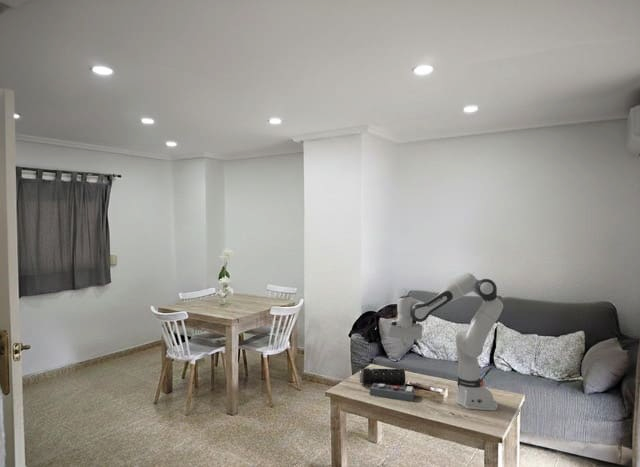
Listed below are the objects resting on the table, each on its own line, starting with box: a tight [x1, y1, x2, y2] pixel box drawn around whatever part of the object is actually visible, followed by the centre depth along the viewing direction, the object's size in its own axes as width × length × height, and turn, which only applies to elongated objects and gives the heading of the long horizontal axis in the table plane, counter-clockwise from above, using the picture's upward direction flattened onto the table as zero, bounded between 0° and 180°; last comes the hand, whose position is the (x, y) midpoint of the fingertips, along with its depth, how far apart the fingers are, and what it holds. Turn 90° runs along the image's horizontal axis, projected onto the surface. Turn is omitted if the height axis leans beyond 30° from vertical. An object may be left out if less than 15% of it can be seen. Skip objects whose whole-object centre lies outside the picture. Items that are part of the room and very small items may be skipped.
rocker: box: [406, 385, 414, 392], centre depth 242 cm, size 3×5×1 cm, turn 158°
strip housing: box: [369, 383, 416, 402], centre depth 245 cm, size 25×9×4 cm, turn 68°
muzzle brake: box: [358, 367, 406, 386], centre depth 262 cm, size 10×28×10 cm, turn 89°
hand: (405, 345), depth 249 cm, fingers closed
